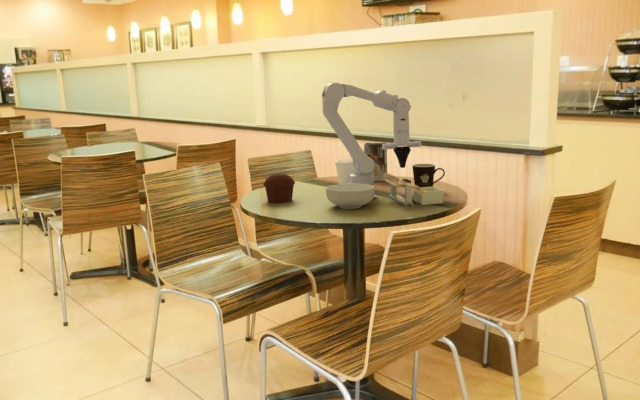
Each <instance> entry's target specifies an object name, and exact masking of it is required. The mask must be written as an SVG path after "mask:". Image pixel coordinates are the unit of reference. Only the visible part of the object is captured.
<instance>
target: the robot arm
mask: <svg viewBox="0 0 640 400" xmlns="http://www.w3.org/2000/svg"><path fill="white" fill-rule="evenodd" d="M349 97H355V98H358V99H363V100H366V101H368V102H371V103H372V105H373V106H374V107H376V108H379V109H383V110H386V111H389V112H392V115H393V117H392V121H393V126H392V127H393V142H390V143H387V144H382V149H383V150H386V149H387V150H393V152H394V154H395V156H396V159H397V161H398V164H399V168H401V169H403V168H406V164H407V160H408V157H409V156H410V153H411V150H412V149H411V148H414V147H415V148H419V147H422V140H416V141H415V140H414V141H410V115H409V113H410V110H411V107H412V105H411V103H410V101H409V100H408V99H407V98H404V97H399V94H395V95H394V94H391V93H389V92H387V90H384V89H383V90H377V91H376V92H373V91H369V90H367V89H363V88H361V87H358V86H354V85H351V84H345V83H339V82H329V83H327V84H326V85H325V86H324V88H323V90H322V93H321V98H322V100H321V103H322V104H321V105H322V114H323V117H325V119H326V121H327V122H328V124H329V125H330V127H331V128H332V130H333V132H334V133H335V134H336V136H337V137H338V139H339V141H341V143H342V144H343V147H345V149H346V151H347V152H348V153H349V155H350V157H351V158H350V159H353V164H354V167H355V168H356V170H355V172H354V174H352V175H349V176H348V183H360V184H369V185H373V186H374V187H375V181H374V172H373V170H374V167H375V163H374V161H373V159H372V158H370V157H368V156H367V155H366V153H365V152H364V149H363V148H362V147H361V146H360V144H359V143H358V141H357V139H356V138H355V136H354V135H353V134H352V132H351V130H350V129H349V128H348V126H347V125H346V123H345V121H344V120H343V118H342V117H341V115H340V113H339V112H338V109H339V106H340V103H341V101H342V99H343V98H349ZM377 198H379V197H378V196H377V195H376V194H374V197H373V199H377Z"/></svg>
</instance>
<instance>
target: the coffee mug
mask: <svg viewBox="0 0 640 400" xmlns="http://www.w3.org/2000/svg"><path fill="white" fill-rule="evenodd" d="M411 166H412V175H413V181H414V182H413V183H414V185H416V186H419V187H434V185H435V184H436V183H437V182H439V181H440V180H442V179H443V178H444V176H445V175H446V172H445V169H443V168H442V167H437V168H436V164H433V163H416V164H412V165H411ZM438 170H441V171H442V172H443V174H442V176H441V177H439V178H438V179H436V180H435V181H434V177H435V174H436V172H437V171H438Z"/></svg>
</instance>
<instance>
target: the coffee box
mask: <svg viewBox="0 0 640 400" xmlns="http://www.w3.org/2000/svg"><path fill="white" fill-rule="evenodd" d="M382 144H388V143H387V142H365V143H364V144H363V151H364V152H365V153H366V155H367V156H368V157H370V158H372V159H373V161H374V163H375V167H374V170H373V172H374V182H385V181H384V180H383V176H384V172H386V173H388V149H386V150H383V149H382Z"/></svg>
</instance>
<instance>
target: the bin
mask: <svg viewBox="0 0 640 400" xmlns="http://www.w3.org/2000/svg"><path fill="white" fill-rule="evenodd" d="M423 190H426V191H424V192H423V194H421V193H420V192H421V191H423ZM413 201H414V202H415V203H418V204H420V205H422V206H424V205H426V206H427V205H435V204H444V190H443V189H441V188H439V187H436V186H433V187H420V190H416V189H414V190H413Z"/></svg>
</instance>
